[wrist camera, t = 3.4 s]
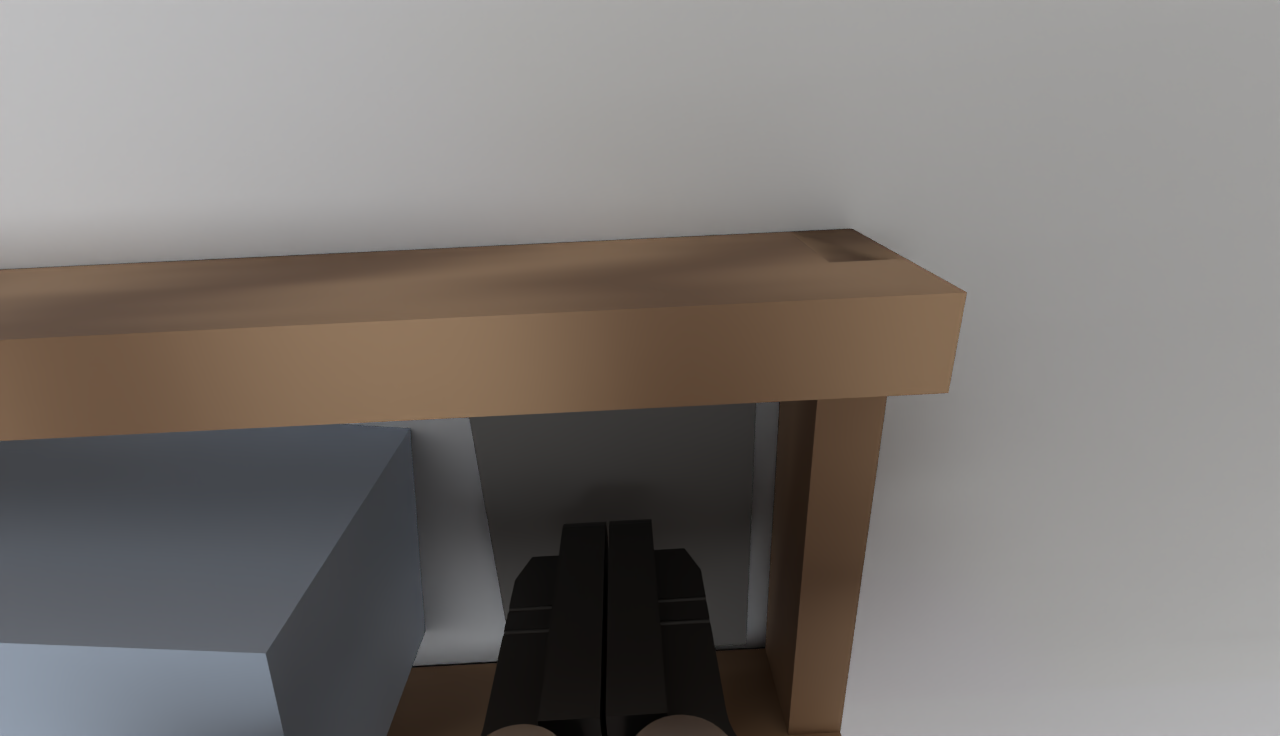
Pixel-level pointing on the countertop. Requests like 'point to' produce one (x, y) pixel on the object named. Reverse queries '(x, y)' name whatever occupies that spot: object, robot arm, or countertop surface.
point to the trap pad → (626, 489)
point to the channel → (526, 386)
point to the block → (208, 582)
